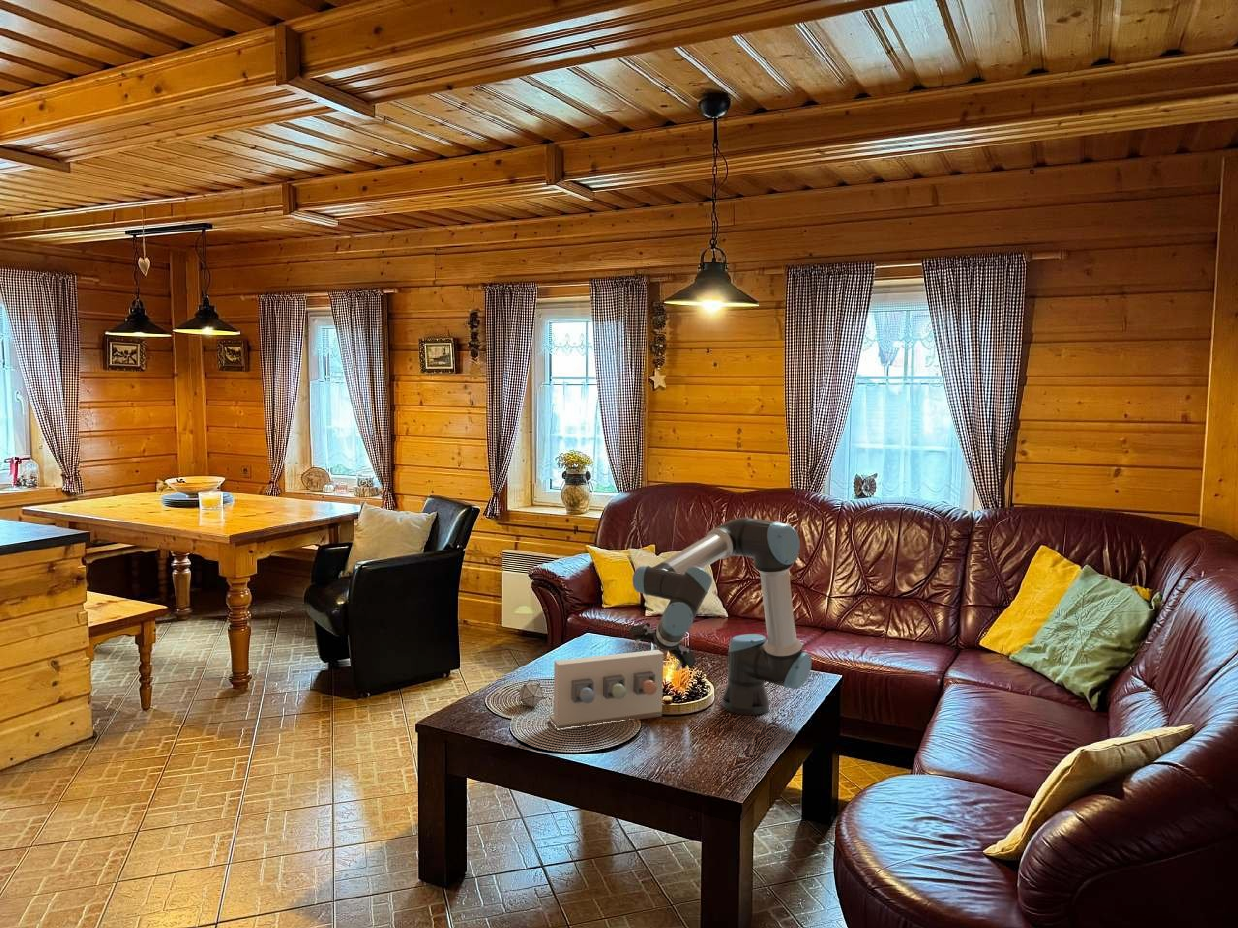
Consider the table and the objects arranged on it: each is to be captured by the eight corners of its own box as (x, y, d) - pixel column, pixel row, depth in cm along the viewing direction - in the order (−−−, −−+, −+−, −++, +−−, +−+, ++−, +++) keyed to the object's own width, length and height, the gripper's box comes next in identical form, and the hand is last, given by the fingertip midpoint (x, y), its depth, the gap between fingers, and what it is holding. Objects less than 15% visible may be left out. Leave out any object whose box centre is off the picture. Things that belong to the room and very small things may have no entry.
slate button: (579, 701, 244) (579, 688, 244) (592, 699, 245) (592, 686, 245) (581, 703, 242) (581, 690, 242) (594, 702, 244) (594, 688, 243)
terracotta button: (641, 693, 252) (642, 680, 251) (654, 691, 253) (654, 678, 253) (644, 695, 250) (644, 682, 249) (656, 694, 251) (657, 681, 251)
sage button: (611, 697, 248) (611, 684, 247) (623, 695, 249) (623, 682, 249) (613, 699, 246) (613, 686, 246) (626, 698, 247) (626, 684, 247)
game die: (537, 717, 267) (555, 694, 264) (518, 714, 260) (536, 691, 258) (525, 696, 273) (543, 674, 270) (506, 693, 266) (525, 670, 264)
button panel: (549, 720, 255) (550, 656, 253) (651, 706, 267) (652, 645, 266) (560, 734, 244) (561, 668, 243) (665, 719, 257) (667, 656, 255)
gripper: (622, 622, 223) (614, 644, 242) (705, 668, 219) (690, 687, 238) (635, 598, 226) (626, 622, 245) (717, 644, 223) (701, 664, 241)
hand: (657, 654), depth 242 cm, fingers open, 13 cm apart
